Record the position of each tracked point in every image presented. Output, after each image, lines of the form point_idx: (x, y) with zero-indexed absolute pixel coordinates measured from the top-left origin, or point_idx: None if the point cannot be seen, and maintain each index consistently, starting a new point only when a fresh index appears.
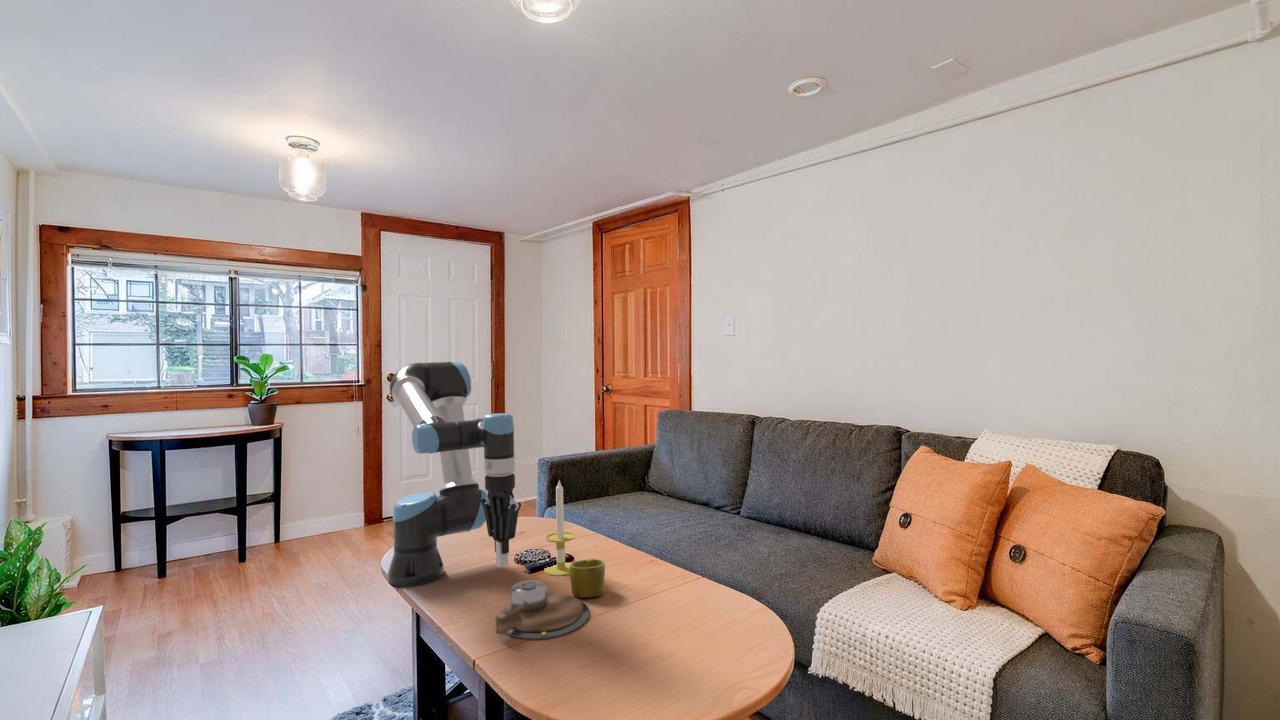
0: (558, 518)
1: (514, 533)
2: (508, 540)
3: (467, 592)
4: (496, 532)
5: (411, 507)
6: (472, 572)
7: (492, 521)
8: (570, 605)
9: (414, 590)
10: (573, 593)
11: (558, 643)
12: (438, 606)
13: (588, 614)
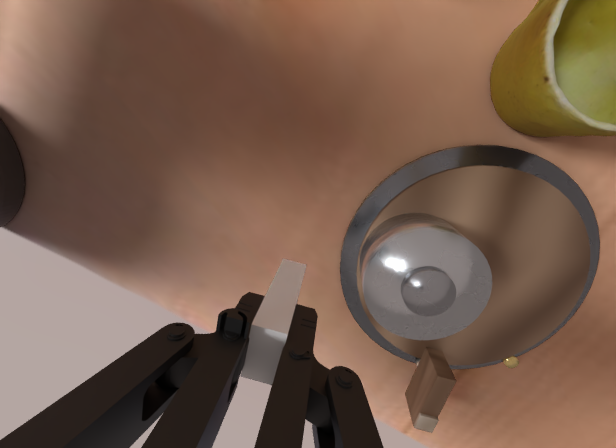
0: None
1: (366, 410)
2: (313, 359)
3: (168, 202)
4: (223, 416)
5: None
6: (58, 62)
7: (106, 443)
8: (539, 228)
9: (39, 236)
10: (507, 124)
11: (547, 361)
12: (169, 291)
13: (597, 235)
